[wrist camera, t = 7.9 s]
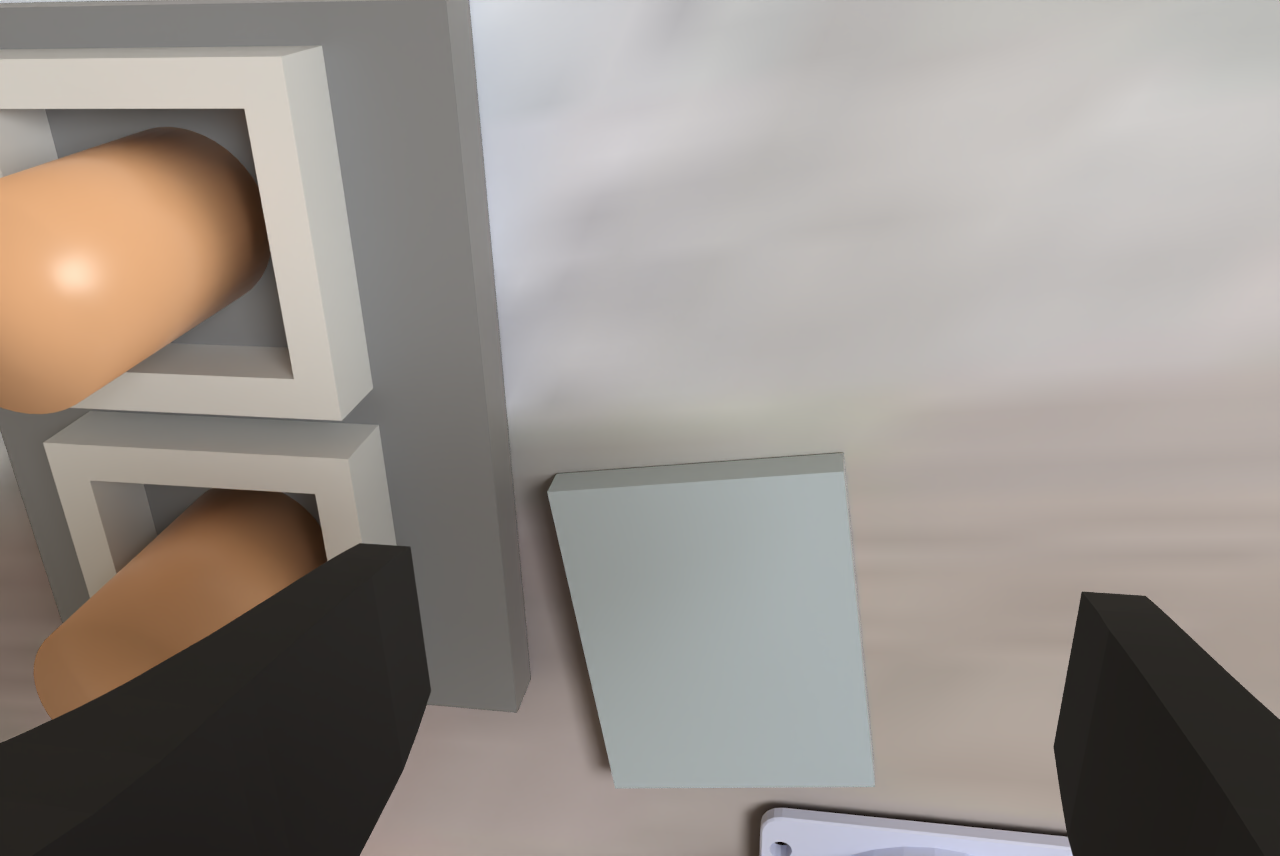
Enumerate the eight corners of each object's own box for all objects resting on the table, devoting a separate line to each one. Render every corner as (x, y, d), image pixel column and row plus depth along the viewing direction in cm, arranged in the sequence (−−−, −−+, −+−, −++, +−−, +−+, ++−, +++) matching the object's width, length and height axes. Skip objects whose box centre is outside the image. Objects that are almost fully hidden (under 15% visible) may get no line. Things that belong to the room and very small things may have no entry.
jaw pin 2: (344, 620, 24) (231, 783, 19) (204, 608, 24) (62, 765, 20) (320, 486, 22) (191, 630, 18) (171, 477, 23) (10, 615, 18)
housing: (530, 678, 25) (499, 759, 23) (107, 642, 27) (36, 713, 25) (468, -7, 19) (414, 6, 16) (-84, 4, 20) (-207, 17, 18)
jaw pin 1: (284, 310, 21) (129, 422, 16) (124, 299, 21) (-68, 405, 17) (256, 130, 19) (76, 199, 15) (84, 123, 20) (-139, 189, 15)
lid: (873, 761, 25) (874, 787, 24) (621, 764, 26) (614, 788, 25) (843, 452, 21) (843, 471, 21) (556, 474, 23) (546, 492, 22)
